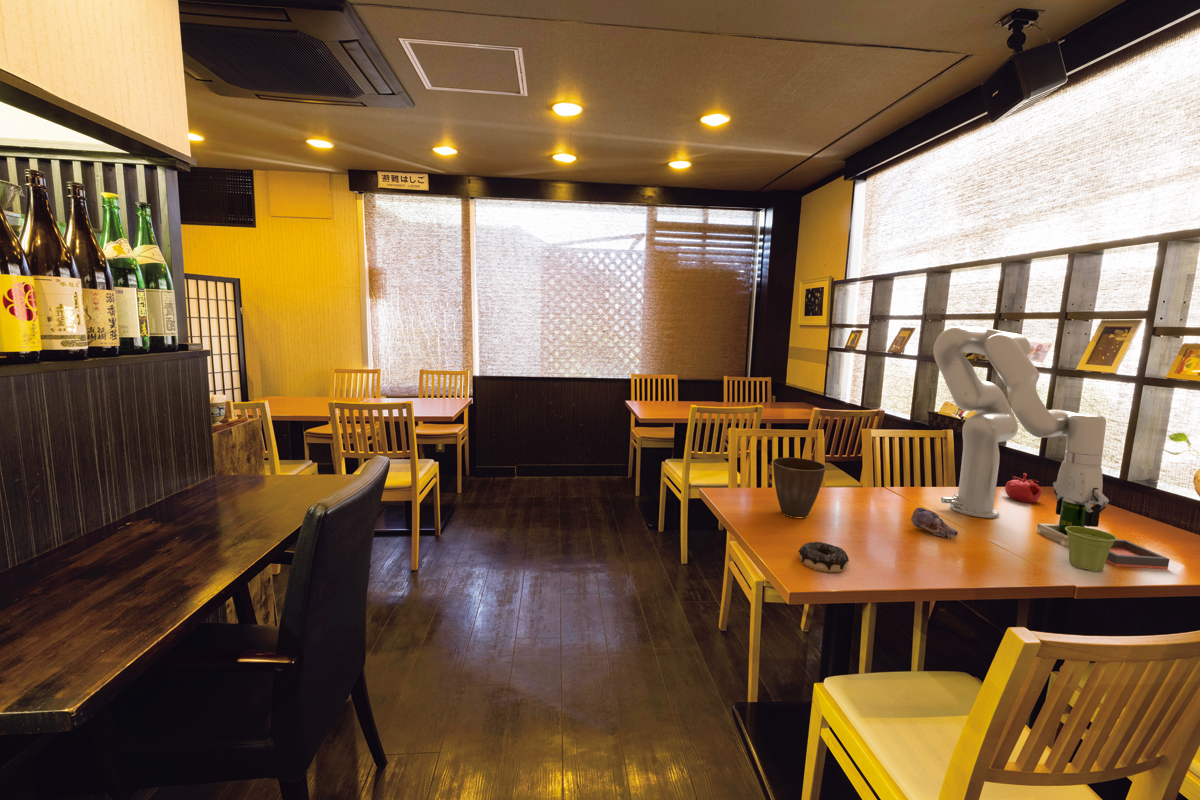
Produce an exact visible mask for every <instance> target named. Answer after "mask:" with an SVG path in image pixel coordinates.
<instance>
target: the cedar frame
mask: <svg viewBox="0 0 1200 800" xmlns="http://www.w3.org/2000/svg"><path fill="white" fill-rule="evenodd" d="M1058 527H1059V523H1058V524H1056V523H1037V528H1036V532H1037V533H1038V534H1041V535H1042V536H1044V537H1046V538H1048V539H1049V540H1051V541H1053V542H1055V543H1057V544H1059V545H1062V546H1063V547H1069V539H1068V536H1067V535H1065V534H1063V533H1060V532H1058Z"/></svg>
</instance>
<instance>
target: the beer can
mask: <svg viewBox="0 0 1200 800" xmlns="http://www.w3.org/2000/svg"><path fill="white" fill-rule="evenodd" d="M1085 511H1088V510H1087V508H1086V506H1085V504H1084V503H1079V502H1076V501H1073V500H1071V499H1069V498H1066V497H1064V498H1063V500H1062V507H1061V513H1060V515H1059V520H1058V521H1059V522H1058V524H1059V527H1058V532H1060V533H1063V534H1065V535H1067V531H1066V530H1065V527H1067V526H1080V527H1086V526H1084V518H1085Z"/></svg>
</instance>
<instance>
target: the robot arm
mask: <svg viewBox="0 0 1200 800" xmlns="http://www.w3.org/2000/svg"><path fill="white" fill-rule="evenodd" d="M935 339H936V340H935V341H934V344H933V349H932V350H933V358H934V361H935V362H936V365H937V367H938V368H939V371H940V372H941V375H942V377H943V379H944V382H945V384H946V386H947V389H948V390H949V393H950V395H951V397H952V400H953V401H954V403H955V406H957V408H958V409H960V410H962V411H964V412H975V411H976V414H973V415H971V416H970V417H968V418H967V419H966V420H965V421H964V423H963V425H962V456H961V466H960V474H959V475H960V476H959V482H958V492H957V494H955V493H954V494H953V496H951V497H948V496H942V497H941V498H940V502H941V503H942V504H949V505H950V509H952V510H953V511H955V512H956V513H957V512H958V513H960V514H962V515H966V516H971V517H976V518H985V519H986V518H987V519H993V518H994V519H995V518H998V517H999V516H1000V512H999V511H998V510H997V509H996V508H994V507H995V506H994V504H995V497H996V489H997V484H998V483H997V482H998V474H999V468H1000V467H999V466H1000V455H1001V454H1000V448H999V443H1002V442H1003V443H1004V442H1007V441H1010V440H1012V439H1014V438H1015V436H1016V435H1017V434H1018V430H1019V425H1018V421H1019V423H1020V424H1021V425H1022V427H1023V428H1024V429H1025V431H1027V432H1028V433H1029V434H1030V435H1032V436H1033V437H1036V438H1052V437H1053V438H1054V437H1064V436H1065V437H1066V439H1065V440H1066V441H1065V450H1064V460H1062V462H1061V465H1060V467H1059V470H1058V472H1057V473H1058V474H1057V479H1056V481H1054V482H1052V486H1053V492H1054V494H1055V500H1056V506H1055V515H1059V516H1060V513H1061V507H1062V500H1063V498H1064V497H1066V498H1069V499H1071V500H1073V501H1076V502H1079V503H1084V504H1085V506H1086V508H1087V511H1085V518H1084V526H1085V527H1087V528H1096V527H1097V528H1098V527H1099V523H1100V522H1099V521H1100V514H1102V513H1103V511H1104V510H1105V509H1106V507H1107V505H1108V503H1110V502H1109V501H1110V500H1109V498H1108V497H1107V496H1105V494H1104V493H1103V487H1104V486H1103V484H1104V483H1103V468H1102V462H1103V453H1104V445H1105V437H1106V435H1105V434H1106V427H1107V419H1106V417H1104V415H1100V414H1095V413H1086V412H1085V413H1084V412H1083V413H1081V412H1080V413H1079V412H1073V411H1068V410H1064V409H1063V410H1062V409H1048V408H1047V407H1046V406H1045V404H1044V402H1043V401H1042V400H1041V398H1040V395H1039V394H1038V390H1037V383H1038V380H1039V379H1040V372H1039V370H1038V369H1037V368H1036V366H1035V365H1034V363H1033V362H1032V361H1031V359H1030V358H1029V357H1028V355H1029V353H1030V351H1031V344H1030V341H1029V339H1027V338H1026V336H1023V335H1022V334H1019V333H1015V332H1009V331H1004V330H1003V331H1002V330H997V329H992V328H988V327H987V328H986V327H981V326H967V325H963V326H962V325H956V326H951V327H948V328H946V329H945V330H943V331H942V332H941V333H940V334H939V335H938V336H937V338H935ZM967 353H968V354H978V355H983V356H985V357H986V358H987V360H988V361H989V363H990V364H991V366H992V367H993V369H994V370H995V372H996V373H997V375H998V376H999V378H1000V379H1001V380H1002V382H1003V384H1004V385H1005V387H1006V390H1007V391H1006V392H1007V397H1008V400H1007V397H1006V396H1005V394H1004V392H1003V391H1002V389H1001V388H1000V387H999V386H998V385H997V384H995V383H993V382H991V381H986V380H980V378H979V377H978V374H977V372H976V371H975V368H974V366H973V365H972V363H971V362H970V361H969V359H967V357H966V356H965V354H967ZM1017 420H1018V421H1017ZM1092 505H1093V506H1092Z"/></svg>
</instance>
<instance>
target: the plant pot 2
mask: <svg viewBox="0 0 1200 800" xmlns="http://www.w3.org/2000/svg"><path fill="white" fill-rule="evenodd" d="M1065 530H1066V531H1067V536H1068V539H1069V546H1068V559H1069V562H1068V563H1070V565H1072V566H1074V567H1075V568H1077V569H1085V570H1088V571H1091V572H1102V571H1103V569H1104V567H1105V565H1106V563H1107V562H1106V559H1107V556H1108V554H1109V551H1110V548H1111V546H1112V545H1113V543H1114V541H1116V540H1117V539H1118V537H1117V536H1115V535H1114V534H1112V533H1109V532H1107V531H1104V530H1100V529H1096V528H1094V527H1087V526H1085V527H1080V526H1067V527H1065Z"/></svg>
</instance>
